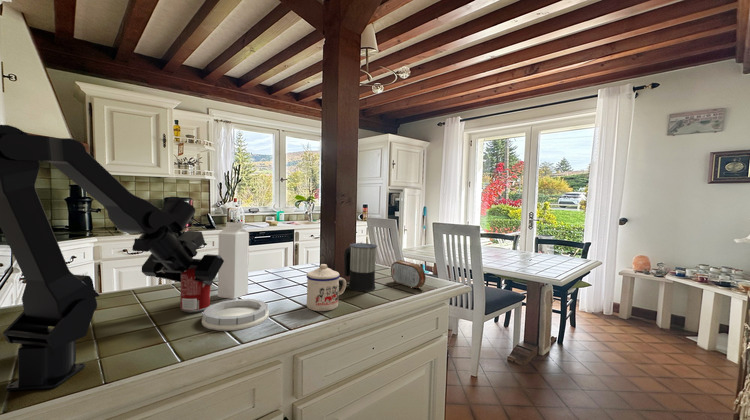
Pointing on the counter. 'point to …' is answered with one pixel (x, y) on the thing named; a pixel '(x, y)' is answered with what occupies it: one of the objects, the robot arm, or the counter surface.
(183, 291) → the soda can
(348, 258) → the milk frother
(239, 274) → the milk
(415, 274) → the tin
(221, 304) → the ring tray
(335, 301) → the teacup with lid
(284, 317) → the counter surface
